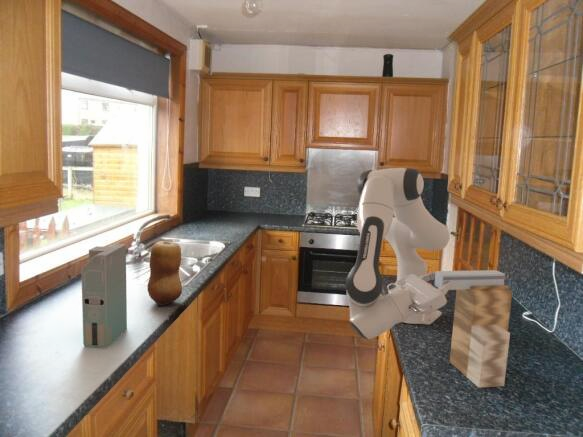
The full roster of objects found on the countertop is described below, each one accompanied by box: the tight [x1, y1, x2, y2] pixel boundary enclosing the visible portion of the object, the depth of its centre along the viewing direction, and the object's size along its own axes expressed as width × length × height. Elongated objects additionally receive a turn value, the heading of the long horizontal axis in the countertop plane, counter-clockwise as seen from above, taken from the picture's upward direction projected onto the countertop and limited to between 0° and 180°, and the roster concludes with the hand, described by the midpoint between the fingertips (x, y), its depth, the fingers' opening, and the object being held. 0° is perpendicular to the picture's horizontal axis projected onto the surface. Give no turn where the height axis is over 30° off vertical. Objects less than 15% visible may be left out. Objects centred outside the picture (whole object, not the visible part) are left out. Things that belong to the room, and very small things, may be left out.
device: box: [80, 243, 128, 349], centre depth 166 cm, size 16×8×30 cm, turn 176°
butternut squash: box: [147, 240, 183, 306], centre depth 202 cm, size 14×13×25 cm
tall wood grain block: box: [449, 285, 513, 389], centre depth 152 cm, size 12×16×27 cm
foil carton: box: [433, 269, 506, 291], centre depth 151 cm, size 20×4×4 cm, turn 102°
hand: (442, 278), depth 149 cm, fingers open, 8 cm apart
